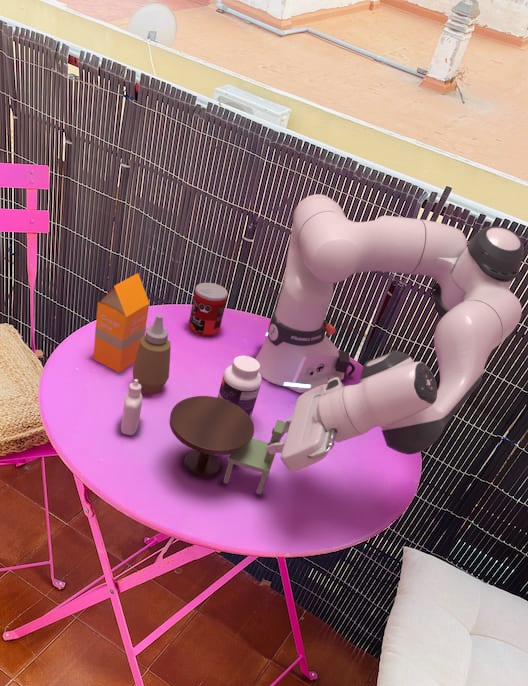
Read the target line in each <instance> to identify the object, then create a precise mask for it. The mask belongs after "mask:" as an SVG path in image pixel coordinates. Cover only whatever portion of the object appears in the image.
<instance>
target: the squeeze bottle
mask: <svg viewBox="0 0 528 686" xmlns="http://www.w3.org/2000/svg"><path fill="white" fill-rule="evenodd" d="M168 338H169V332H168V330H167V329H166V328H164V320H163V315H161V314H157V315H156V317H155V320H154V322H153V325H152V326H149V327H146V331H145V336H143V337H142V338H141V340H140V343H139V347H138V351H137V355H136V359H135V362H134V363H133V367H132V378H133V381H134V380H135V379H137V380H138V383H139V384H140V385H141V394H144V395H149V396H154V395H158V394H159V393H161V391H162V390H163V389H164V387H165V385H166V383H167V381H168V380H169V378H170V364H171V363H170V362H171V346H172V345H171V344H172V343H171V341H170V340H169V339H168Z"/></svg>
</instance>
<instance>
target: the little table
mask: <svg viewBox="0 0 528 686" xmlns="http://www.w3.org/2000/svg"><path fill="white" fill-rule="evenodd" d="M169 427H170V430H171V432H172V434H173V435H174V437H175V438H176V439H177V440H178V441H179V442H180V443H182V444H183V445H185V446H186V447H188V448H189V449H191V450H194V451H191V452H189V453H188V454H186V456H185V458H184V467H185V469H186V470H187V471H188V472H189V473H190V474H191V475H193V476H195V477H199V478H211V477H214V476H215V475H217V474H218V472H219V470H220V468H221V466H220V461H219V459H218V458H217V457H216V456H228V455H229V456H230V454H234V453H237V452H239V451H241V450H243V449H245V448H246V447H247V446H248V445H249V444H250V442H251V440H252V438H254V433H255V426H254V422H253V420H252V417H251V418H250V417H249V415H248V414H247V413H246V412H245V411H244V410H243V409H241V408H240V407H239V406H237V405H235V404H234V403H232V402H229V401H227V400H224V399H221V398H218V396H217V397H216V396H212V395H211V396H210V395H195V396H190V397H187V398H184V399H182V400H179V402H177V403H176V404H175V405H174V406H173V408H172V409H171V411H170V416H169Z"/></svg>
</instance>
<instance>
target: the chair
mask: <svg viewBox="0 0 528 686" xmlns="http://www.w3.org/2000/svg"><path fill="white" fill-rule="evenodd" d="M285 423H286V422H284V421H283V420H279V419H277V420H276V422H275V425H274V427H275V428H274V427H273V428H274V431H273V434H272V433H271V437H270V440H269V442H267V441H264V440H260V439H257V438H254V437H252V440H251V442H250V444H249V445H248V446H247V447H246V448H245V449H243V450H241V451H239V452H237V453H234V454H229V456H228V458H227V467H226V470H225V474H224V478H223V481H222V482H223V483H224V484H226V485H228V484H229V481H230V477H231V474H232V471H233V468H234V465H235V466H239V467H242V468H245V469H248V470H251V471H254V472H256V473H257V472H258V473H261V475H260V479H259V482H258V485H257V488H256V492H255V493H256V494H258V495H261V494H262V491H263V489H264V485H265V482H266V479H267V477H268V476H269V474H270V472H271V469H272V465H273V463H274V460H275V456H276V454H277V453H275V454H269V452H268V451H267V446H268V443H270V442H272V441H276V442H277V443H279V442H280V441H281V439H282V437H281V436H282V433H283V430H284V426H285Z"/></svg>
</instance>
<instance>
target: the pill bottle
mask: <svg viewBox="0 0 528 686" xmlns="http://www.w3.org/2000/svg"><path fill="white" fill-rule="evenodd" d="M259 368H260V364H259V362H258V361H257V360H256V359H255V358H254V357H252V356H248V355H238V356H236V357H235V358H233V360H232V364H231V365H228V366H227V367H226V368H225V370H224V372H223V374H222V378H221V383H220V387H219V390H218V394H217V398H221V399H224V400H227V401H229V402H232V403H234V404H235V405H237V406H239V407H240V408H241V409H243V410H244V411H245V412H246V413H247V414H248V415H249V417H250V418H251V419H252V415H253V412H254V409H255V405H256V403H257V399H258V394H259V393H260V390H261V386H262V381H263V377H261V375H260V373H259Z"/></svg>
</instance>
